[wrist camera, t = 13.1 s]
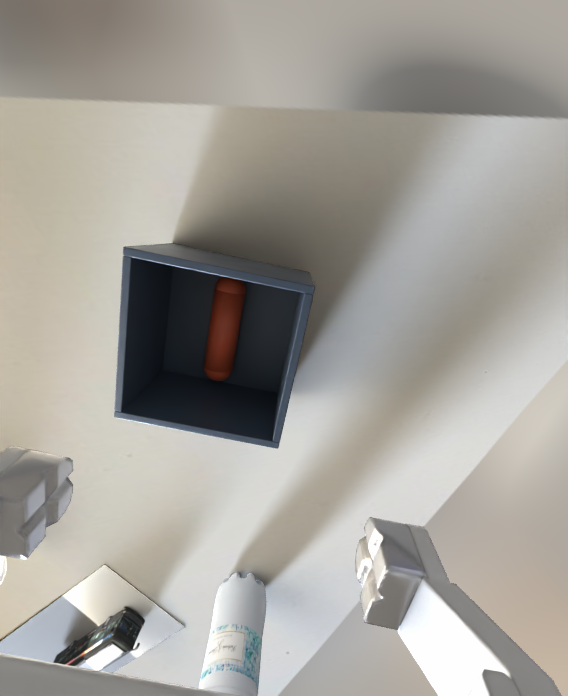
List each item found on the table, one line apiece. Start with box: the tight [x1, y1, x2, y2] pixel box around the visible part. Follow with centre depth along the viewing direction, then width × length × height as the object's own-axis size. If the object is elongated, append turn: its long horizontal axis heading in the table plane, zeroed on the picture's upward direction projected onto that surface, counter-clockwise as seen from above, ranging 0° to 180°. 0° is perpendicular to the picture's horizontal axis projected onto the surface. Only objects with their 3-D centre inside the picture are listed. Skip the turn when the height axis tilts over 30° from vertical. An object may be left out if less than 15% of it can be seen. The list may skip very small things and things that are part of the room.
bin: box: [114, 243, 315, 449], centre depth 30 cm, size 13×13×10 cm
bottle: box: [199, 572, 266, 696], centre depth 36 cm, size 7×7×20 cm
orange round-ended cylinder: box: [204, 276, 246, 381], centre depth 33 cm, size 10×3×3 cm, turn 169°
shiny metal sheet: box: [0, 565, 185, 673], centre depth 47 cm, size 14×25×4 cm, turn 131°
